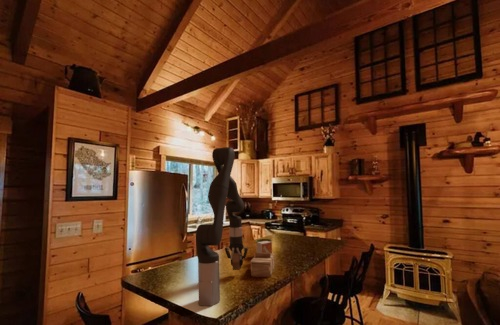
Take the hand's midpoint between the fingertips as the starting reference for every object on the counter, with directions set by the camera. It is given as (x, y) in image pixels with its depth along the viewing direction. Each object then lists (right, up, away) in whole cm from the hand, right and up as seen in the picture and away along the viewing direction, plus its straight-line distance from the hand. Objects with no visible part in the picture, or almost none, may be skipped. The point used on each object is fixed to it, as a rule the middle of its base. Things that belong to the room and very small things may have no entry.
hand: (237, 265), depth 147 cm
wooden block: (0, -2, 0) cm, 2 cm away
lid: (+15, +2, +6) cm, 16 cm away
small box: (+17, -8, +24) cm, 30 cm away
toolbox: (+15, -5, +5) cm, 17 cm away
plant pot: (+18, -9, +39) cm, 44 cm away
